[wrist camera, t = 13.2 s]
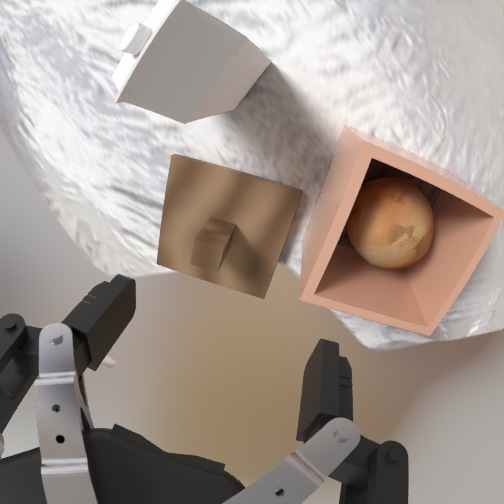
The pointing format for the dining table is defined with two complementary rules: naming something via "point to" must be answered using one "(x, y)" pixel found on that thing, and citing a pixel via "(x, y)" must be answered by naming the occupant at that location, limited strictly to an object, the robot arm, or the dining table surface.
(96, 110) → the dining table surface
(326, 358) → the robot arm
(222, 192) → the lid
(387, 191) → the onion
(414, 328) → the tan open box
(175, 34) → the milk carton
